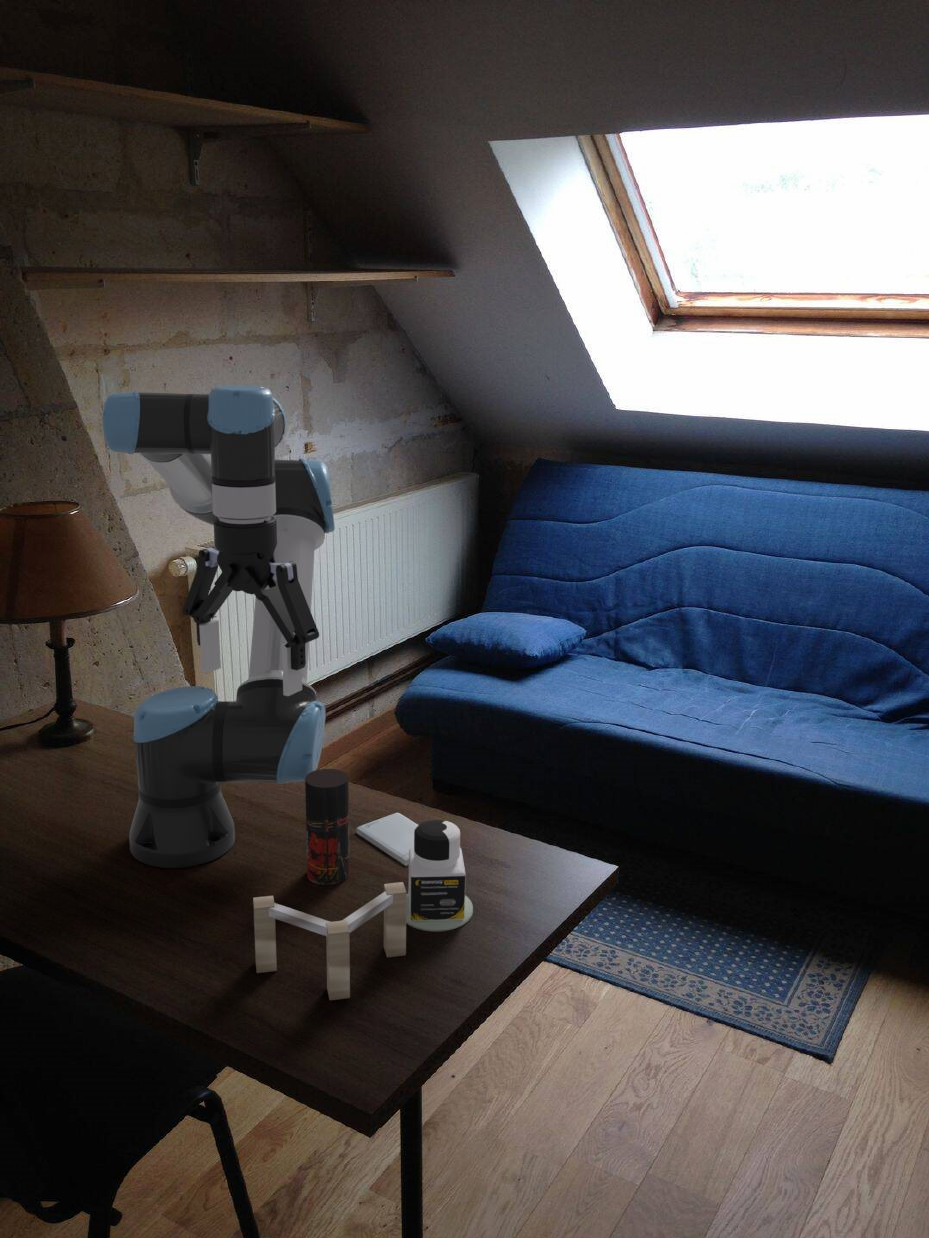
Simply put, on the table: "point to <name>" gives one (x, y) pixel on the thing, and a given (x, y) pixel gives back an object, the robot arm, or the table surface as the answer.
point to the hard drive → (391, 835)
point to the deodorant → (327, 826)
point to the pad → (440, 925)
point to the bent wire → (332, 933)
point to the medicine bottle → (436, 873)
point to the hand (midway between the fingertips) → (251, 681)
